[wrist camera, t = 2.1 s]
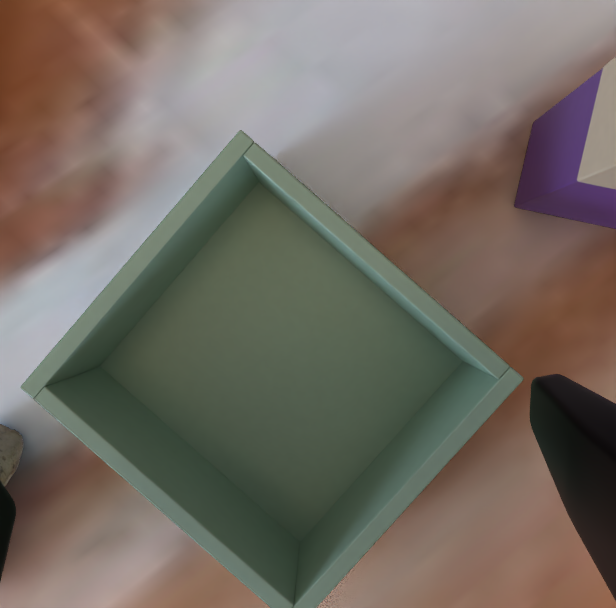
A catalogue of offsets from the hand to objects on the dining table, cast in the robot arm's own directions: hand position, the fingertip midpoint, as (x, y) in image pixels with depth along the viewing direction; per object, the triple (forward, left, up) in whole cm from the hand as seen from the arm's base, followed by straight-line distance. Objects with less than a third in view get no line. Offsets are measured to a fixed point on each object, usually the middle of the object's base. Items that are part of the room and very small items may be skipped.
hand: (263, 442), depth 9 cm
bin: (0, +1, -14) cm, 14 cm away
